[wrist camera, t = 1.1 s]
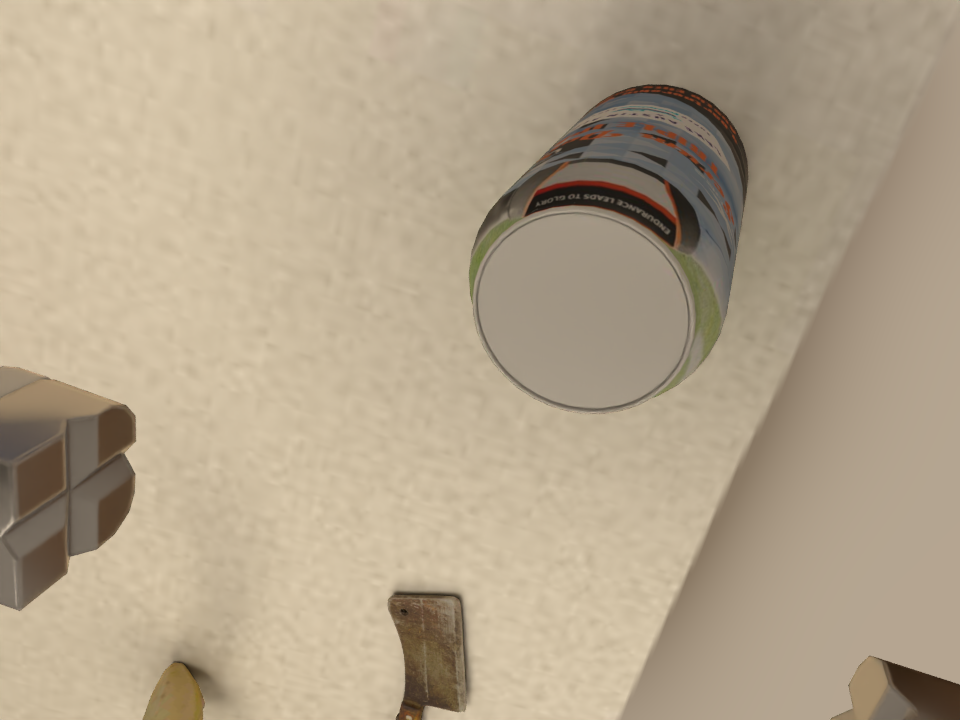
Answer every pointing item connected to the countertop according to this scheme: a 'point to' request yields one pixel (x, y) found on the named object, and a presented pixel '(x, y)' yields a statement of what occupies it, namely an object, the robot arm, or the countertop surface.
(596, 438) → the countertop surface
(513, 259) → the beverage can
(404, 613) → the meat cleaver
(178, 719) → the fruit
